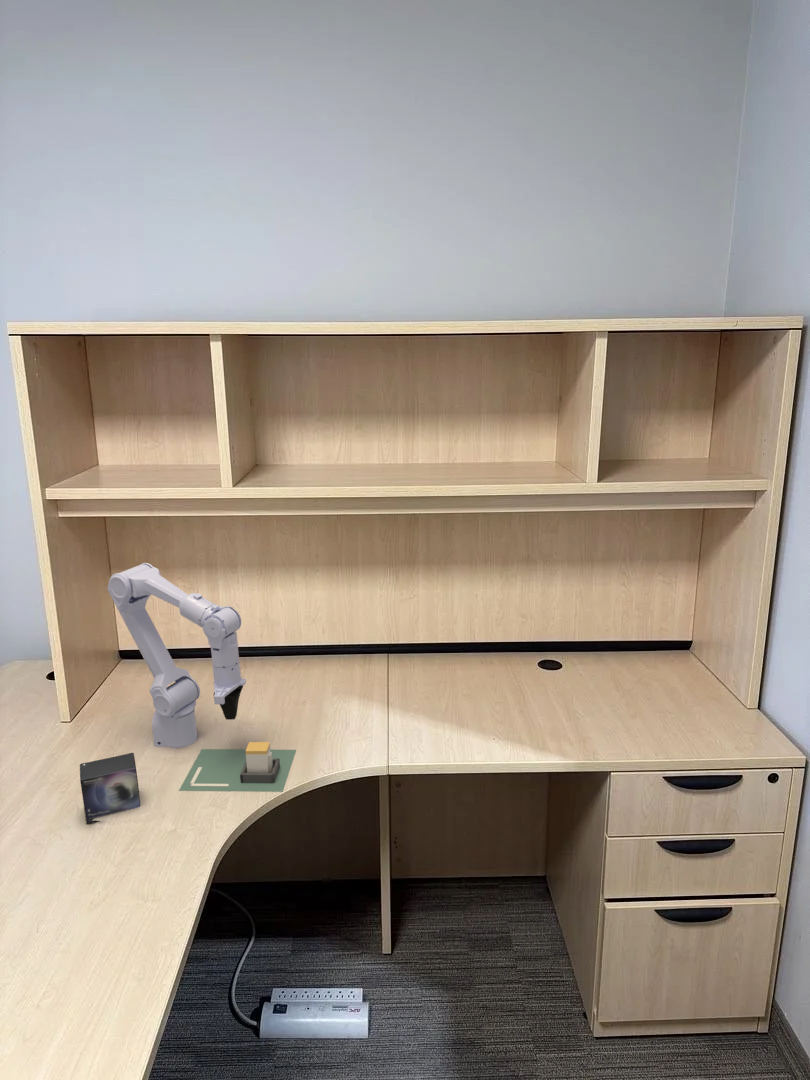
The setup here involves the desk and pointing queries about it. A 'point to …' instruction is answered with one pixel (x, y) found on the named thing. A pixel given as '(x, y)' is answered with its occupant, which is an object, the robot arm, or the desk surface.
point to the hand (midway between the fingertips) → (231, 718)
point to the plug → (259, 757)
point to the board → (236, 772)
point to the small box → (109, 786)
